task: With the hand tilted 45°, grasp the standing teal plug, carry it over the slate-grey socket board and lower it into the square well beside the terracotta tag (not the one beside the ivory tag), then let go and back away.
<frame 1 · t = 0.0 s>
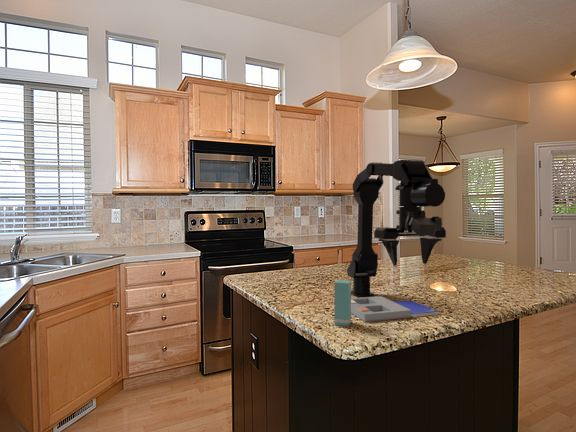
hand: (410, 264, 98), 15 cm above the countertop, tool pointing down, fingers open, 9 cm apart
hard drive: (412, 312, 107), on the countertop
plug: (342, 323, 95), on the countertop
socket board: (373, 311, 105), on the countertop
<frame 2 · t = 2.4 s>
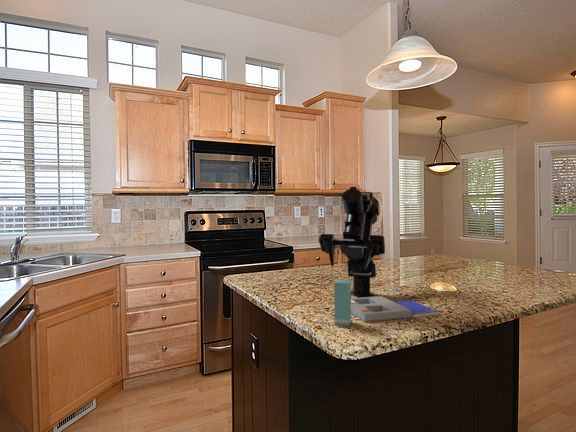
hand: (348, 267, 101), 14 cm above the countertop, tool tilted 45°, fingers open, 9 cm apart
nothing on the countertop moved.
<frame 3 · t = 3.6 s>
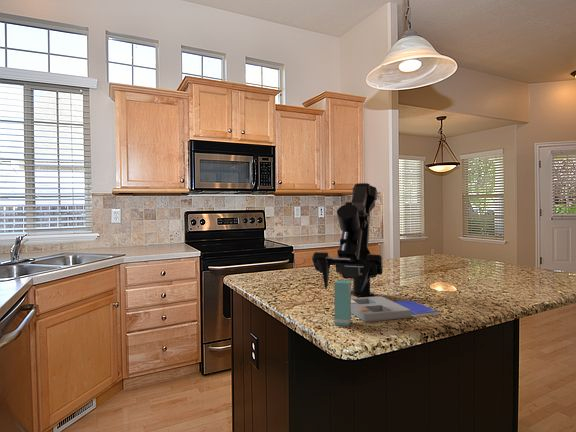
hand: (343, 288, 95), 9 cm above the countertop, tool tilted 45°, fingers open, 9 cm apart
nothing on the countertop moved.
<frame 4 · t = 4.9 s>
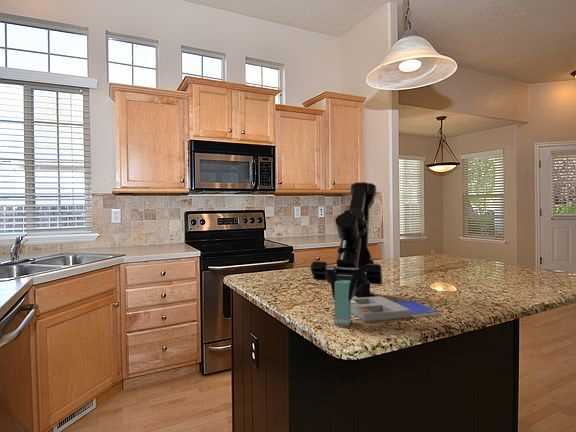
hand: (341, 299, 93), 7 cm above the countertop, tool tilted 45°, fingers closed on plug, 4 cm apart
plug: (342, 323, 95), on the countertop, touching gripper
everything else where it was.
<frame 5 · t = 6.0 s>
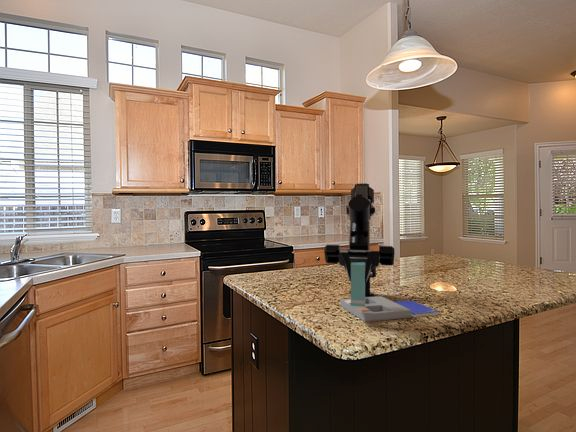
hand: (358, 280, 95), 11 cm above the countertop, tool tilted 45°, fingers closed on plug, 4 cm apart
plug: (358, 304, 97), point 4 cm above the countertop, touching gripper
everything else where it was.
when the fingers open (8 cm above the countertop, at t = 7.5 s): plug stays where it is, resting on socket board.
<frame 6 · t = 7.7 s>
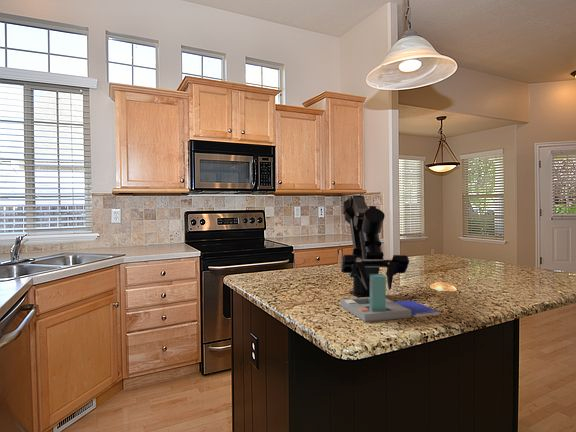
hand: (378, 289, 99), 8 cm above the countertop, tool tilted 45°, fingers open, 6 cm apart
plug: (377, 314, 101), resting on socket board
everything else where it was.
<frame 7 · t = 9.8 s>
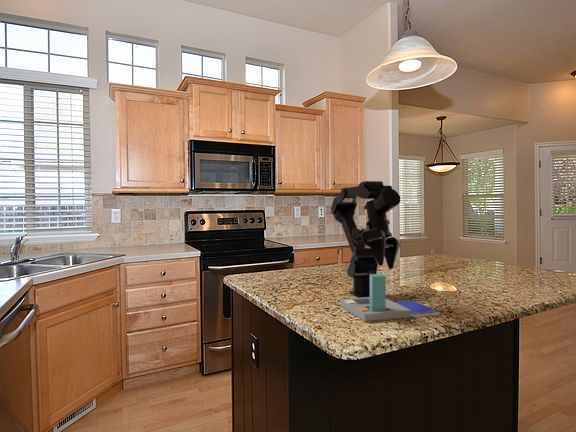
hand: (386, 267, 109), 12 cm above the countertop, tool tilted 20°, fingers open, 9 cm apart
nothing on the countertop moved.
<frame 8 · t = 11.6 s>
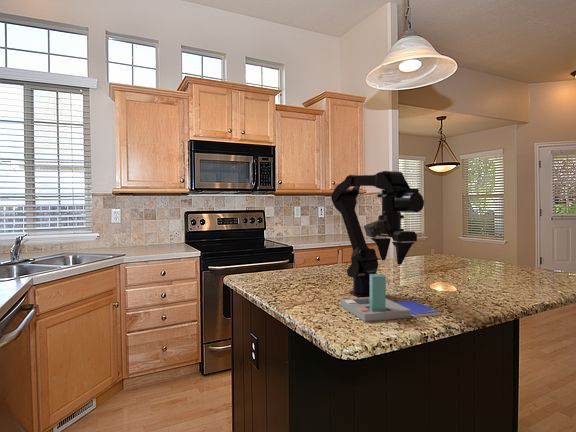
hand: (391, 262, 113), 13 cm above the countertop, tool pointing down, fingers open, 9 cm apart
nothing on the countertop moved.
at the end: plug 0.0 cm from the target spot, resting on socket board; plug tilted 0°; the gripper is holding nothing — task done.
